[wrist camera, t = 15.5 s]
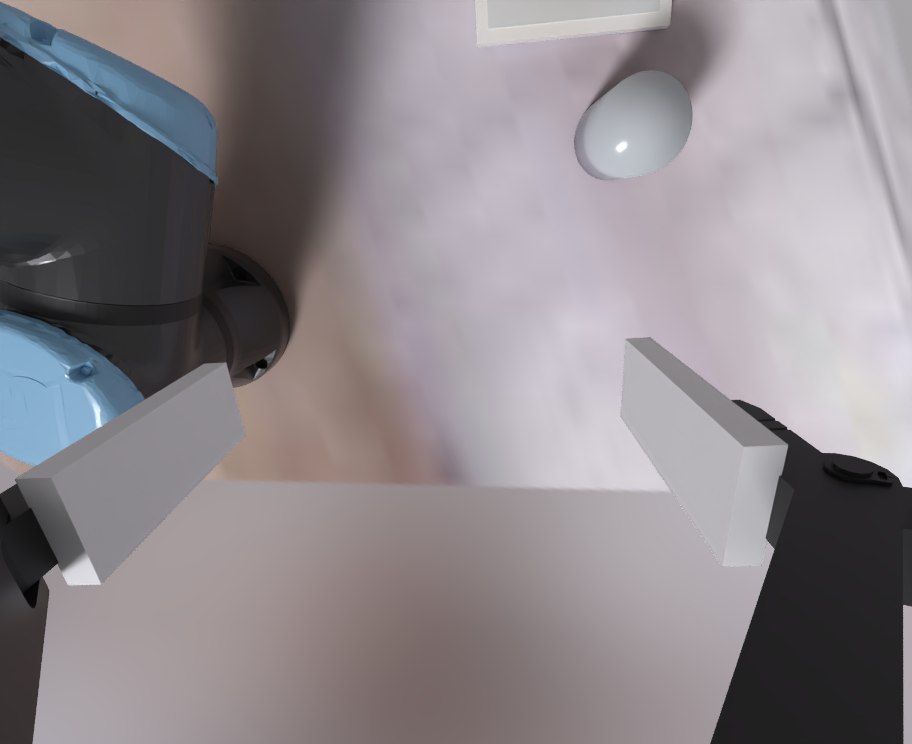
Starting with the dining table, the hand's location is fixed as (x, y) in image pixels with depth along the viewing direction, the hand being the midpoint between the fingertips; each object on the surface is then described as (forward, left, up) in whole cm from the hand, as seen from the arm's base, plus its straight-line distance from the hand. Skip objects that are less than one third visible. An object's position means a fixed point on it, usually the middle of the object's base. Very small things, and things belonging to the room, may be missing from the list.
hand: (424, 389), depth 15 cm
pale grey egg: (+15, +10, -33) cm, 37 cm away
